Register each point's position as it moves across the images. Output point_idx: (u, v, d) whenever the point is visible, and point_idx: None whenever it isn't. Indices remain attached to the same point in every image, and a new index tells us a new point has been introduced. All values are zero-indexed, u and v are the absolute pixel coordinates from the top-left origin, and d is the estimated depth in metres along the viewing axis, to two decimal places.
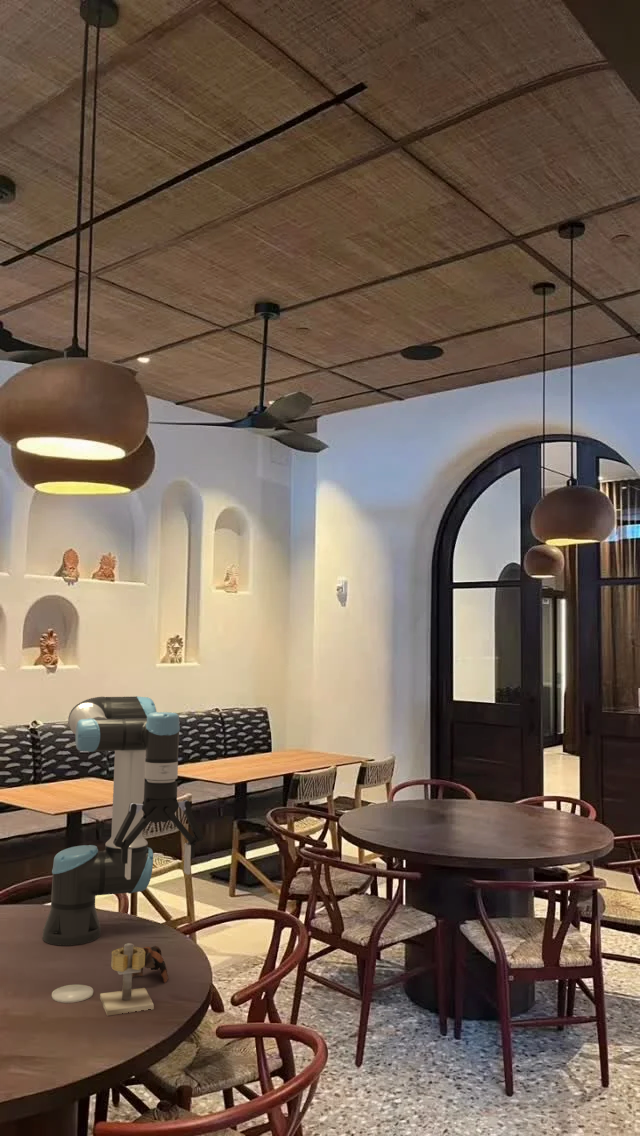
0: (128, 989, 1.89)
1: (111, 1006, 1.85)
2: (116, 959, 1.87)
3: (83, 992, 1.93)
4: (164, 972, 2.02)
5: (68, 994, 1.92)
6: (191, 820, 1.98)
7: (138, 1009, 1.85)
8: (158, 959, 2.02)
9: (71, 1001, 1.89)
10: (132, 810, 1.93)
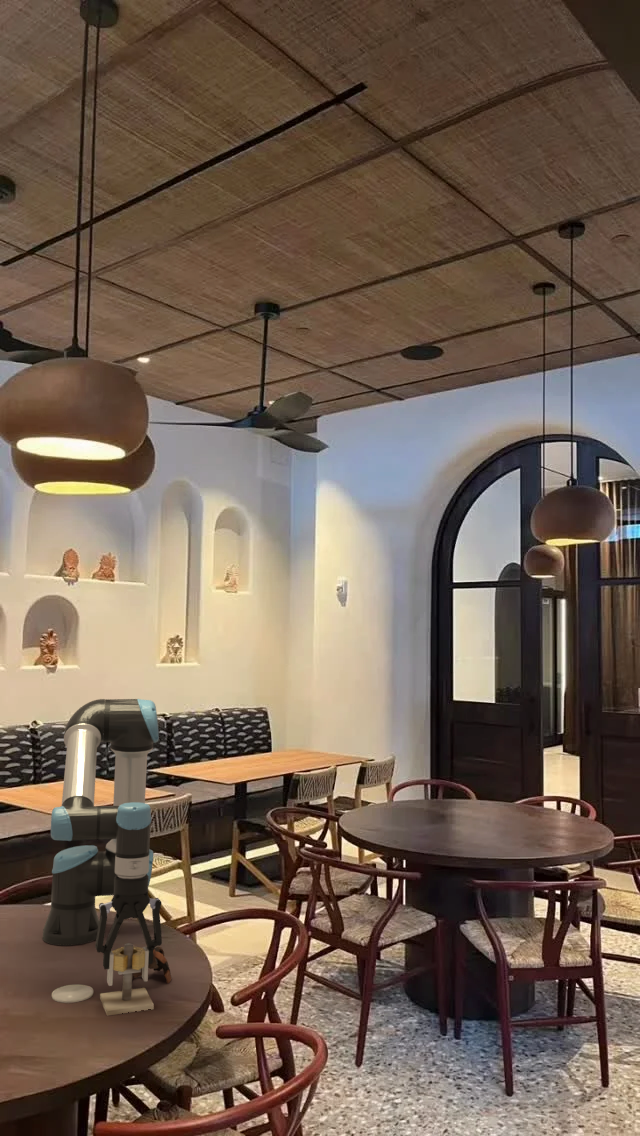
0: (128, 989, 1.89)
1: (111, 1006, 1.85)
2: (116, 959, 1.87)
3: (83, 992, 1.93)
4: (167, 973, 2.02)
5: (68, 994, 1.92)
6: (156, 921, 1.92)
7: (138, 1009, 1.85)
8: (161, 960, 2.02)
9: (71, 1001, 1.89)
10: (102, 912, 1.88)
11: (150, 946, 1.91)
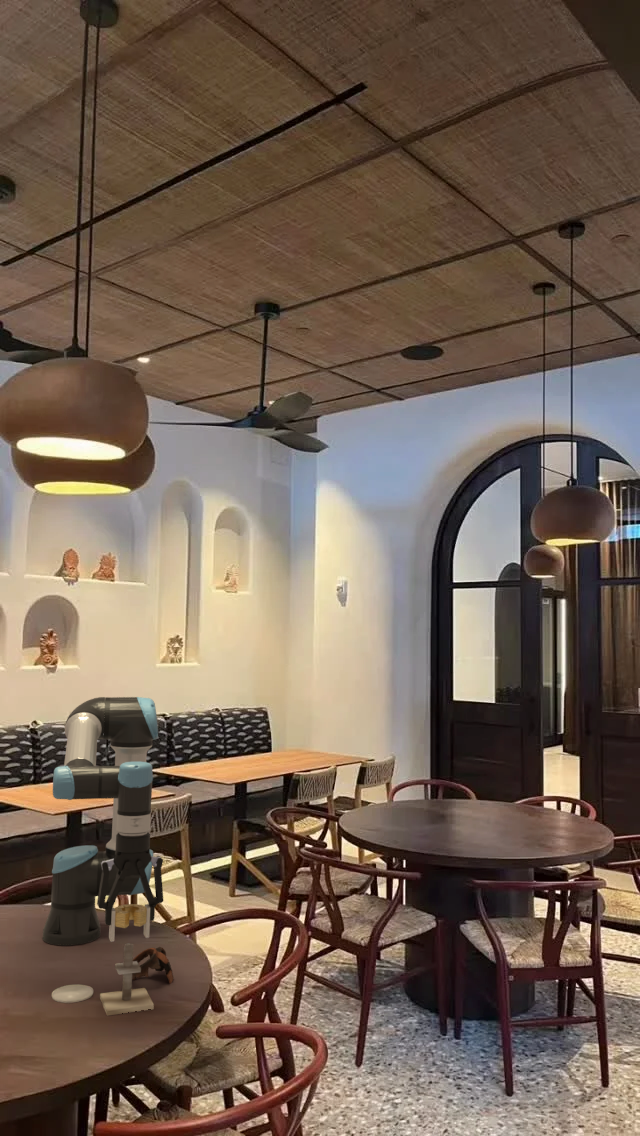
0: (128, 989, 1.89)
1: (111, 1006, 1.85)
2: (118, 915, 1.88)
3: (83, 992, 1.93)
4: (169, 973, 2.02)
5: (68, 994, 1.92)
6: (158, 879, 1.93)
7: (138, 1009, 1.85)
8: (163, 960, 2.02)
9: (71, 1001, 1.89)
10: (104, 869, 1.89)
11: (152, 903, 1.92)
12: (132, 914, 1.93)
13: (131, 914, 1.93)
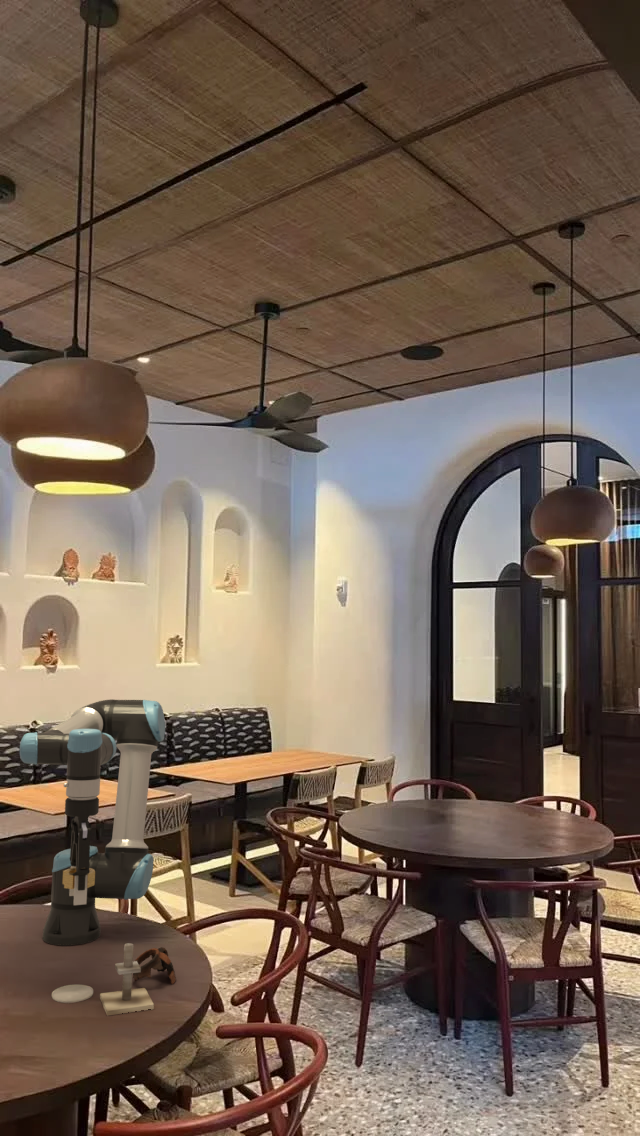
0: (128, 989, 1.89)
1: (111, 1006, 1.85)
2: None
3: (83, 992, 1.93)
4: (172, 973, 2.02)
5: (68, 994, 1.92)
6: (78, 849, 1.91)
7: (138, 1009, 1.85)
8: (166, 960, 2.01)
9: (71, 1001, 1.89)
10: None
11: None
12: None
13: None
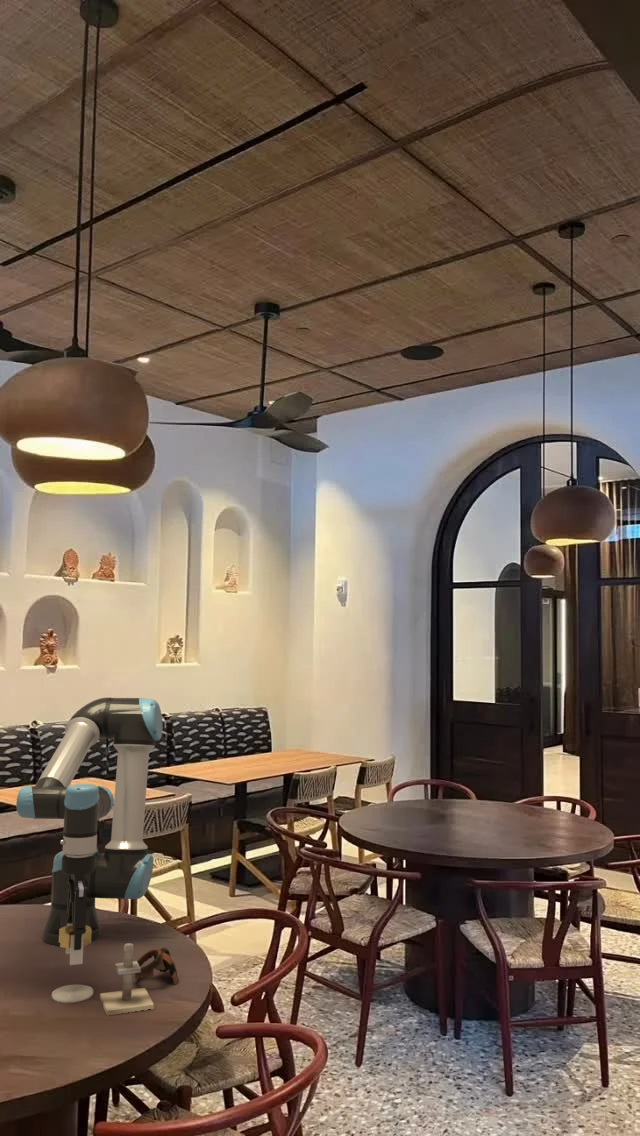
0: (128, 989, 1.89)
1: (111, 1006, 1.85)
2: None
3: (83, 992, 1.93)
4: (174, 974, 2.01)
5: (68, 994, 1.92)
6: (74, 908, 1.90)
7: (138, 1009, 1.85)
8: (168, 961, 2.01)
9: (71, 1001, 1.89)
10: None
11: (72, 931, 1.90)
12: None
13: None
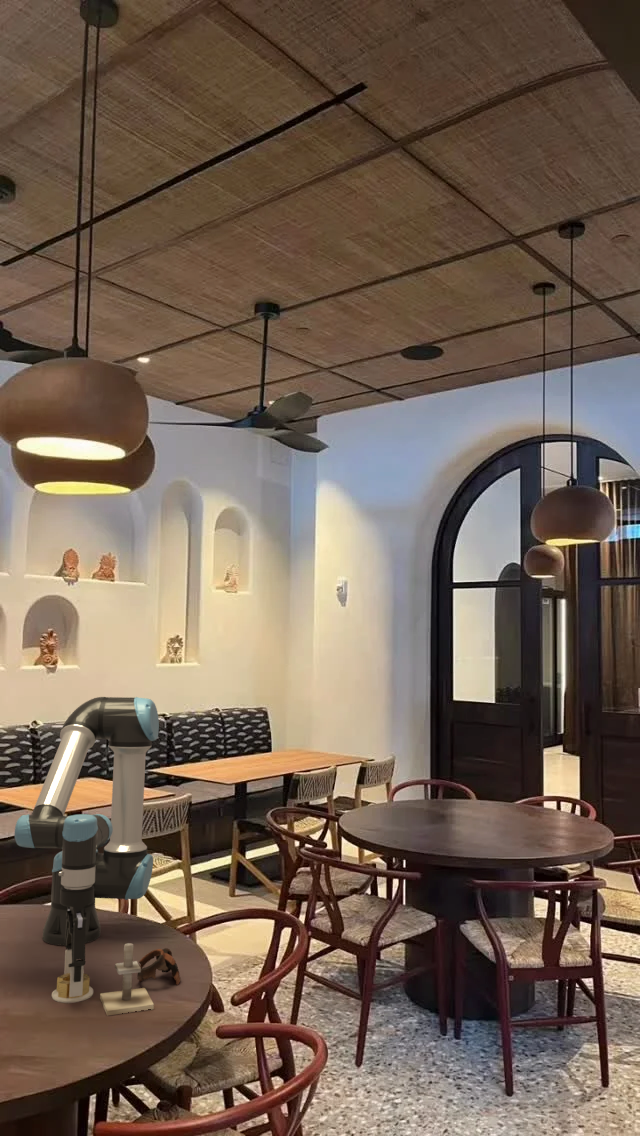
0: (128, 989, 1.89)
1: (111, 1006, 1.85)
2: None
3: None
4: (176, 974, 2.01)
5: None
6: (73, 939, 1.88)
7: (138, 1009, 1.85)
8: (170, 961, 2.01)
9: (71, 1001, 1.89)
10: (67, 909, 2.01)
11: None
12: None
13: None
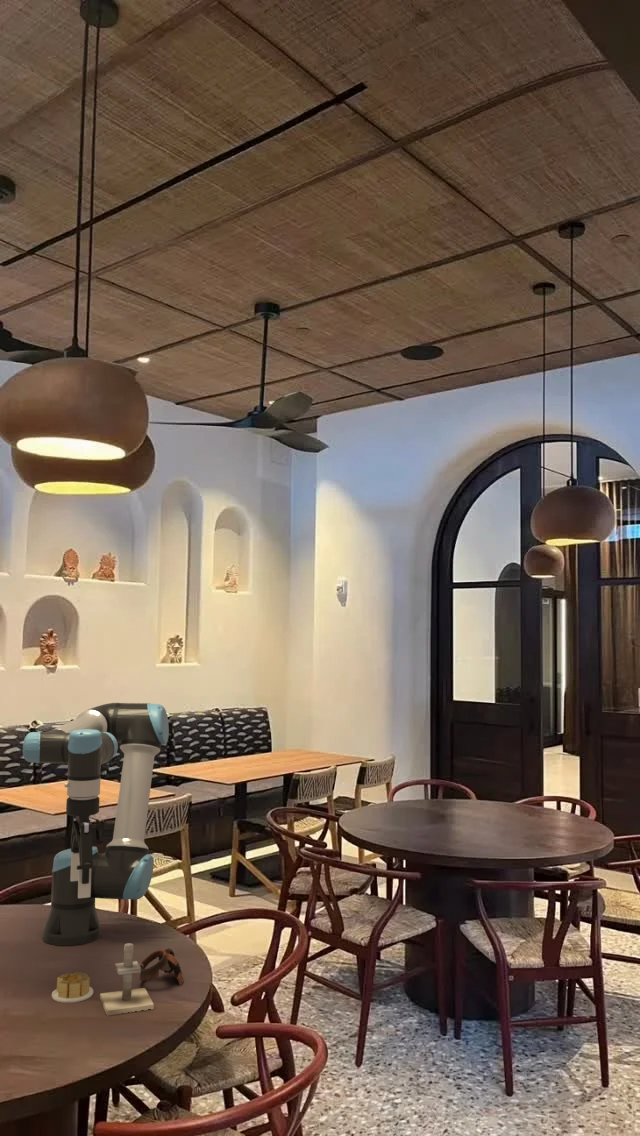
0: (128, 989, 1.89)
1: (111, 1006, 1.85)
2: None
3: None
4: (179, 975, 2.01)
5: None
6: (80, 844, 1.94)
7: (138, 1009, 1.85)
8: (173, 962, 2.01)
9: (71, 1001, 1.89)
10: (73, 817, 2.07)
11: None
12: None
13: None
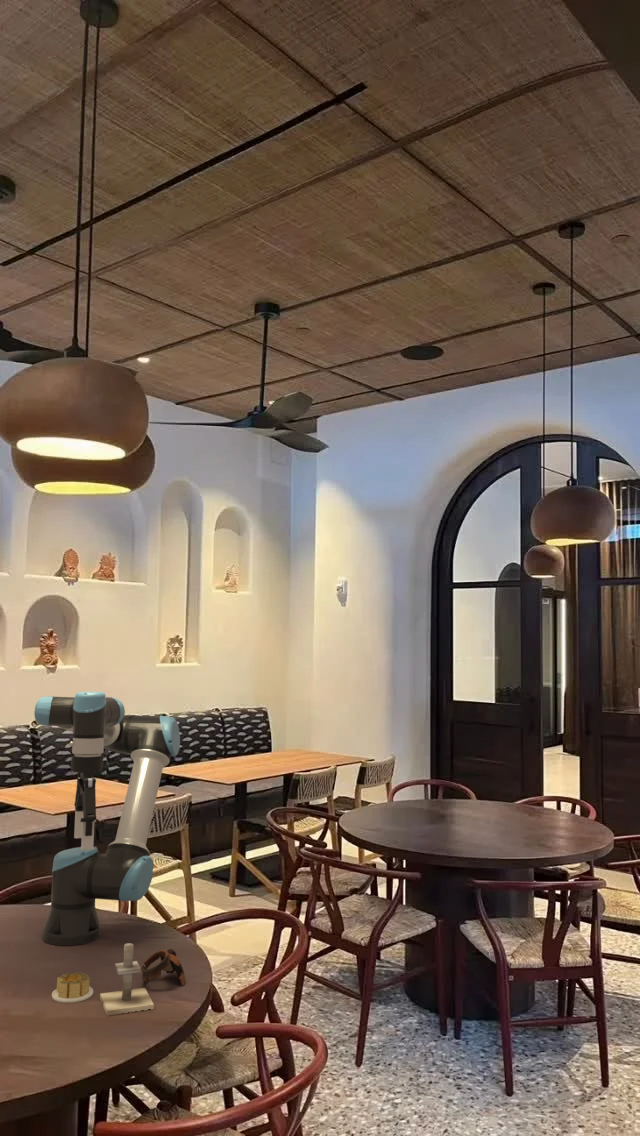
0: (128, 989, 1.89)
1: (111, 1006, 1.85)
2: None
3: None
4: (181, 975, 2.01)
5: None
6: (84, 798, 2.03)
7: (138, 1009, 1.85)
8: (176, 962, 2.00)
9: (71, 1001, 1.89)
10: None
11: None
12: None
13: None
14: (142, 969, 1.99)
